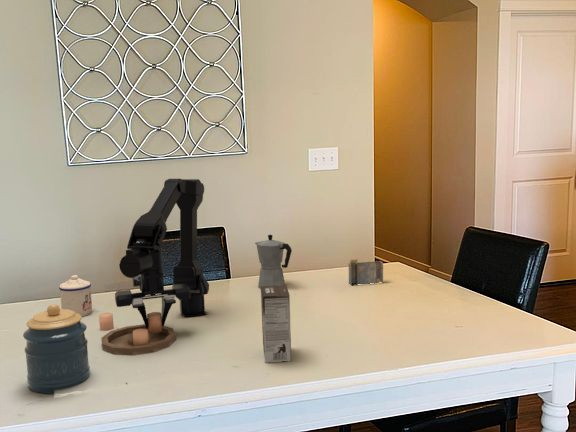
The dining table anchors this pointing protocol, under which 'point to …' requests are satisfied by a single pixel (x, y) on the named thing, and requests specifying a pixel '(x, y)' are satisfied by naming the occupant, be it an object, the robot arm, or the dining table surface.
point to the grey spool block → (365, 272)
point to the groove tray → (123, 343)
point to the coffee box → (276, 323)
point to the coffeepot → (272, 262)
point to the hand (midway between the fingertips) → (154, 326)
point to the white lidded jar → (76, 295)
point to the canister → (56, 350)
